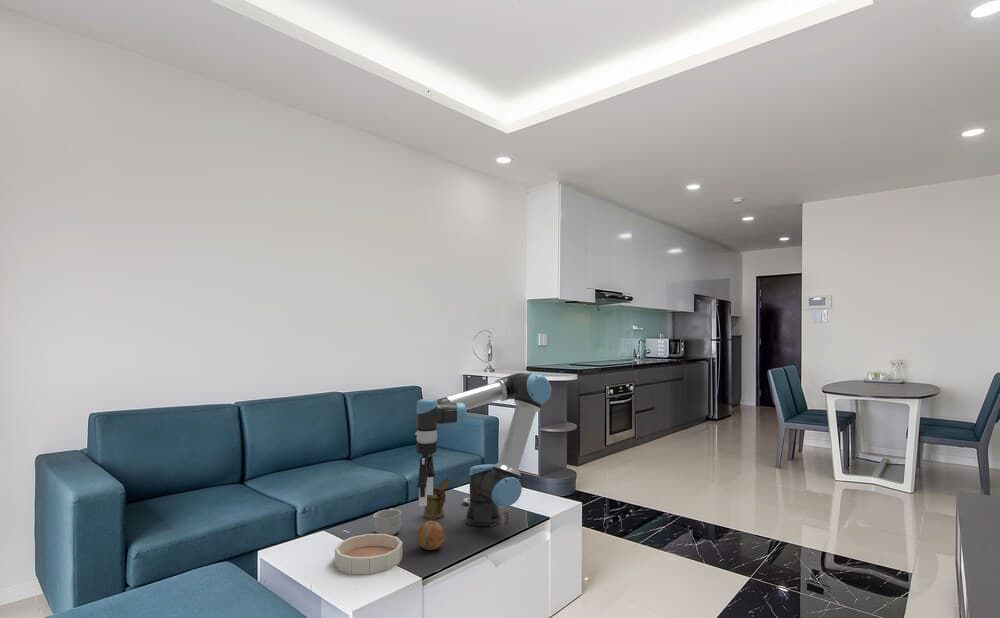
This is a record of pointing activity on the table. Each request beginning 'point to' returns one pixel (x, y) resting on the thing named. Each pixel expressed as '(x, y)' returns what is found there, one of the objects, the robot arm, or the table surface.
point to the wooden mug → (436, 501)
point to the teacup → (387, 521)
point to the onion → (430, 535)
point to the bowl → (368, 553)
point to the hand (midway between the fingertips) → (426, 500)
